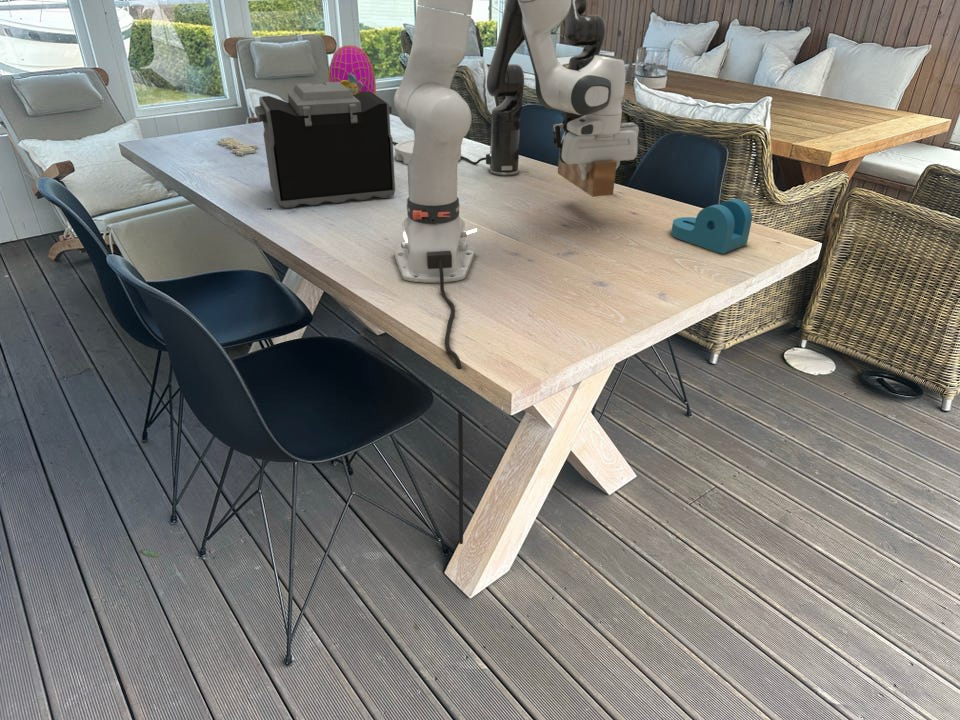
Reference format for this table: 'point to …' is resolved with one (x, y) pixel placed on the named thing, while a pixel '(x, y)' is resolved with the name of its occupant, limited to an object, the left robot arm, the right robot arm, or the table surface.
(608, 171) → the box
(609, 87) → the left robot arm
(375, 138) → the electronic device
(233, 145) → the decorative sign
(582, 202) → the table surface
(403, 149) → the ashtray
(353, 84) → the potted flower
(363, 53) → the decorative egg
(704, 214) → the camera mount
